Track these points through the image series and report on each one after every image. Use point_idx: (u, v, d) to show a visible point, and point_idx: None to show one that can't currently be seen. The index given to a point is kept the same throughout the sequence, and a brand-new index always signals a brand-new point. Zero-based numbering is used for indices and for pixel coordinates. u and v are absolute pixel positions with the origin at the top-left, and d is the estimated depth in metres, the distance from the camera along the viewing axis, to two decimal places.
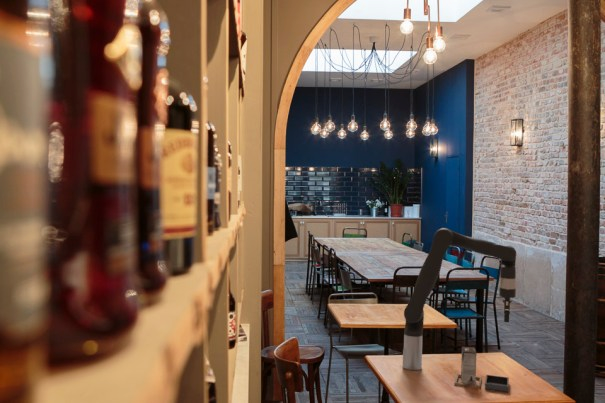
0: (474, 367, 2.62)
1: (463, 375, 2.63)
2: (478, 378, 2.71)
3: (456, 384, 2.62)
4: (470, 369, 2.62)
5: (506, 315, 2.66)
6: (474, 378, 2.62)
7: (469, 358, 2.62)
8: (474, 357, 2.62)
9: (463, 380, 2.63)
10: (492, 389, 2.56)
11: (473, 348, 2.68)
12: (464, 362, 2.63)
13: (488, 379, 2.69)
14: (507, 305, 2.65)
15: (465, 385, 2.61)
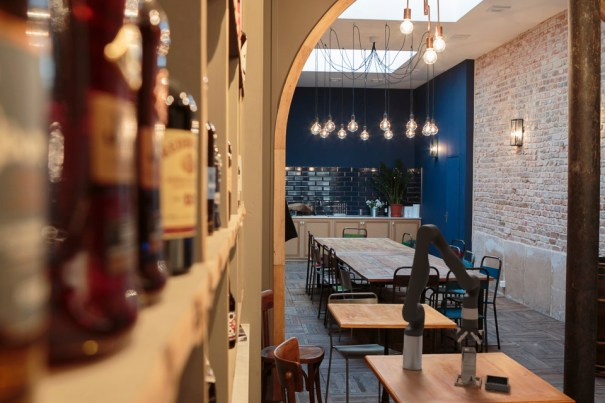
0: (474, 367, 2.62)
1: (463, 375, 2.63)
2: (478, 378, 2.71)
3: (456, 384, 2.62)
4: (470, 369, 2.62)
5: (480, 344, 2.64)
6: (474, 378, 2.62)
7: (469, 358, 2.62)
8: (474, 357, 2.62)
9: (463, 380, 2.63)
10: (492, 389, 2.56)
11: (473, 348, 2.68)
12: (464, 362, 2.63)
13: (488, 379, 2.69)
14: None
15: (465, 385, 2.61)
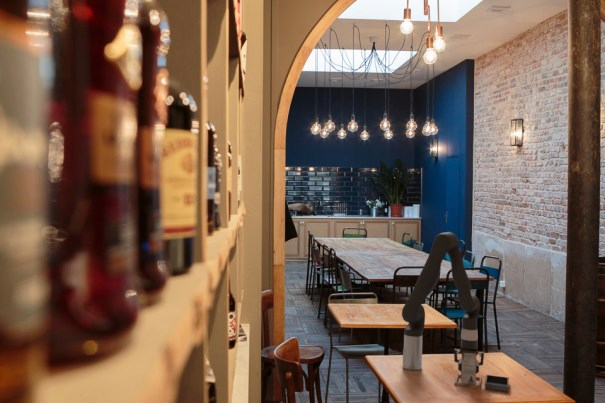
0: (474, 367, 2.62)
1: (463, 375, 2.63)
2: (478, 378, 2.71)
3: (456, 384, 2.62)
4: (470, 369, 2.62)
5: None
6: (474, 378, 2.62)
7: (469, 358, 2.62)
8: (474, 357, 2.62)
9: (463, 380, 2.63)
10: (492, 389, 2.56)
11: None
12: (464, 362, 2.63)
13: (488, 379, 2.69)
14: None
15: (465, 385, 2.61)
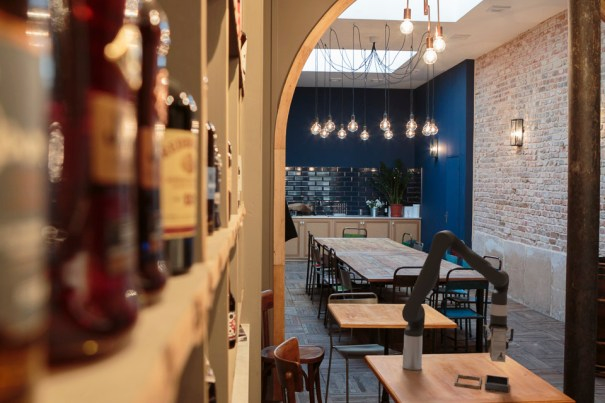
0: (504, 343, 2.56)
1: (492, 351, 2.58)
2: (478, 378, 2.71)
3: (456, 384, 2.62)
4: (500, 345, 2.57)
5: (508, 342, 2.60)
6: (504, 354, 2.57)
7: (499, 334, 2.57)
8: (504, 332, 2.56)
9: (492, 356, 2.58)
10: (492, 389, 2.56)
11: None
12: (494, 338, 2.57)
13: (488, 379, 2.69)
14: (512, 332, 2.59)
15: (465, 385, 2.61)
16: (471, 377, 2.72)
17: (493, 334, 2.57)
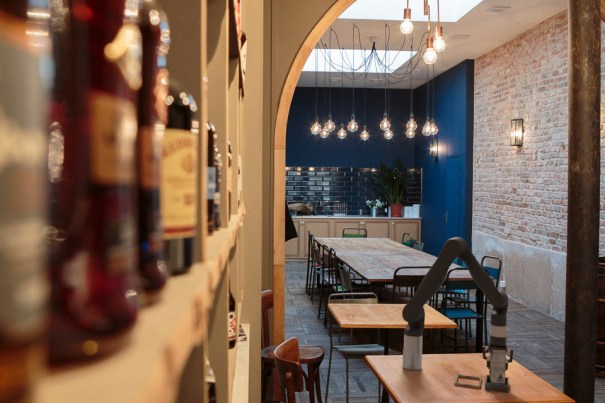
0: (503, 364, 2.57)
1: (492, 372, 2.58)
2: (478, 378, 2.71)
3: (456, 384, 2.62)
4: (499, 367, 2.57)
5: None
6: (503, 375, 2.57)
7: (498, 355, 2.57)
8: (503, 354, 2.56)
9: (492, 377, 2.58)
10: (492, 389, 2.56)
11: None
12: (493, 359, 2.57)
13: (488, 379, 2.69)
14: None
15: (465, 385, 2.61)
16: (471, 377, 2.72)
17: (492, 355, 2.57)
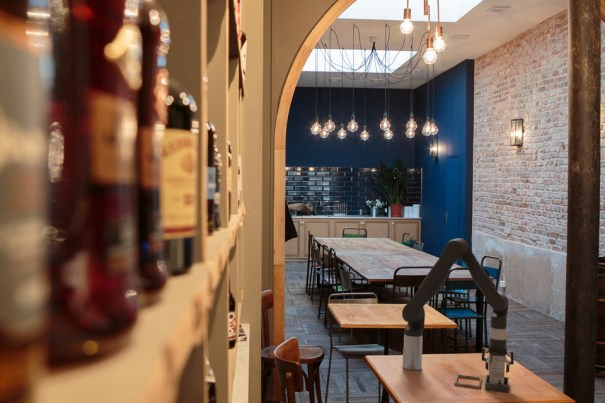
0: (502, 370, 2.57)
1: (491, 378, 2.58)
2: (478, 378, 2.71)
3: (456, 384, 2.62)
4: (498, 372, 2.57)
5: (509, 365, 2.59)
6: (502, 381, 2.57)
7: (497, 361, 2.57)
8: (502, 360, 2.57)
9: (491, 383, 2.58)
10: (492, 389, 2.56)
11: None
12: (492, 365, 2.58)
13: (488, 379, 2.69)
14: (512, 355, 2.59)
15: (465, 385, 2.61)
16: (471, 377, 2.72)
17: (492, 361, 2.58)
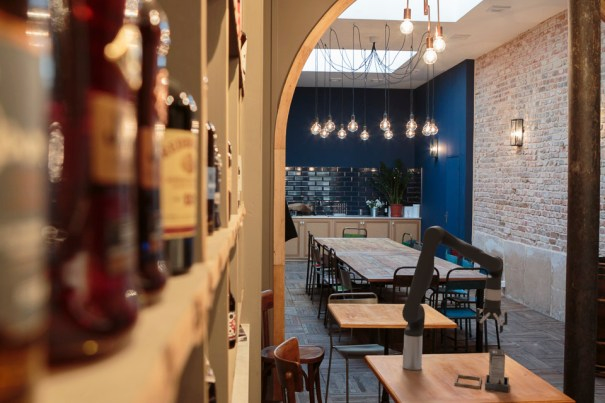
0: (502, 370, 2.57)
1: (491, 378, 2.58)
2: (478, 378, 2.71)
3: (456, 384, 2.62)
4: (498, 372, 2.57)
5: None
6: (502, 381, 2.57)
7: (497, 361, 2.57)
8: (503, 360, 2.57)
9: (491, 383, 2.58)
10: (492, 389, 2.56)
11: (501, 351, 2.63)
12: (492, 365, 2.58)
13: (488, 379, 2.69)
14: (506, 316, 2.63)
15: (465, 385, 2.61)
16: (471, 377, 2.72)
17: (492, 361, 2.58)
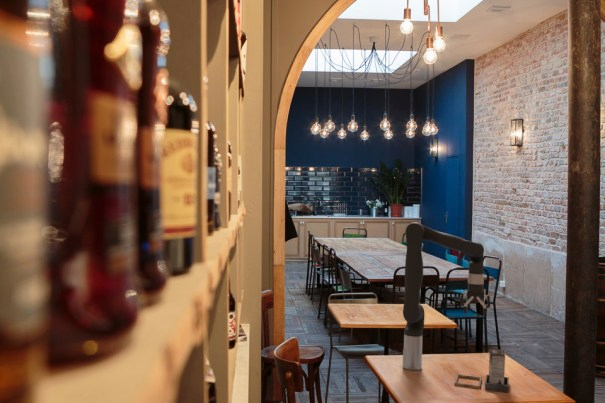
0: (502, 370, 2.57)
1: (491, 378, 2.58)
2: (478, 378, 2.71)
3: (456, 384, 2.62)
4: (498, 372, 2.57)
5: None
6: (502, 381, 2.57)
7: (497, 361, 2.57)
8: (503, 360, 2.57)
9: (491, 383, 2.58)
10: (492, 389, 2.56)
11: (501, 351, 2.63)
12: (492, 365, 2.58)
13: (488, 379, 2.69)
14: None
15: (465, 385, 2.61)
16: (471, 377, 2.72)
17: (492, 361, 2.58)
